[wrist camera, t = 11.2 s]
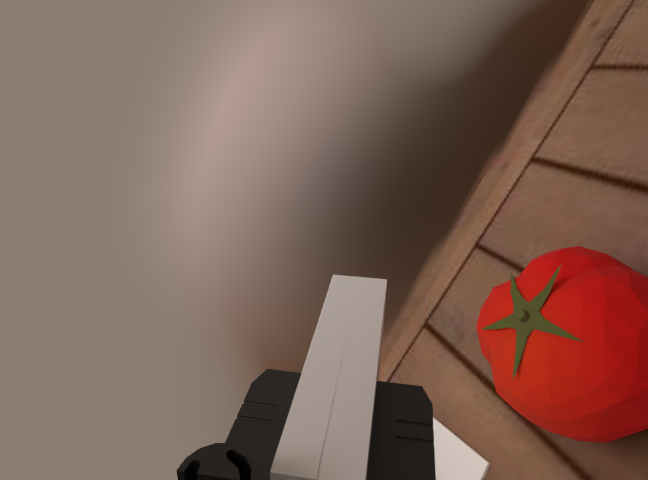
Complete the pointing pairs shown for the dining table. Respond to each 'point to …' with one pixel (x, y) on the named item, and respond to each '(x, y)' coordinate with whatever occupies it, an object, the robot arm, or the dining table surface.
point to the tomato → (571, 344)
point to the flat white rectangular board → (456, 457)
